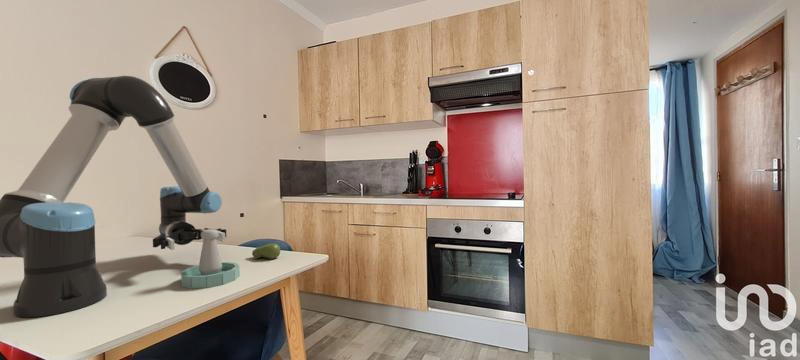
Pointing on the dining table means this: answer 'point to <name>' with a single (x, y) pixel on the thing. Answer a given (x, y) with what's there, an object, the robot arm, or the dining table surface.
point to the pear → (267, 251)
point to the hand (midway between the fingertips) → (199, 241)
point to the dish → (209, 276)
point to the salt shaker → (210, 253)
